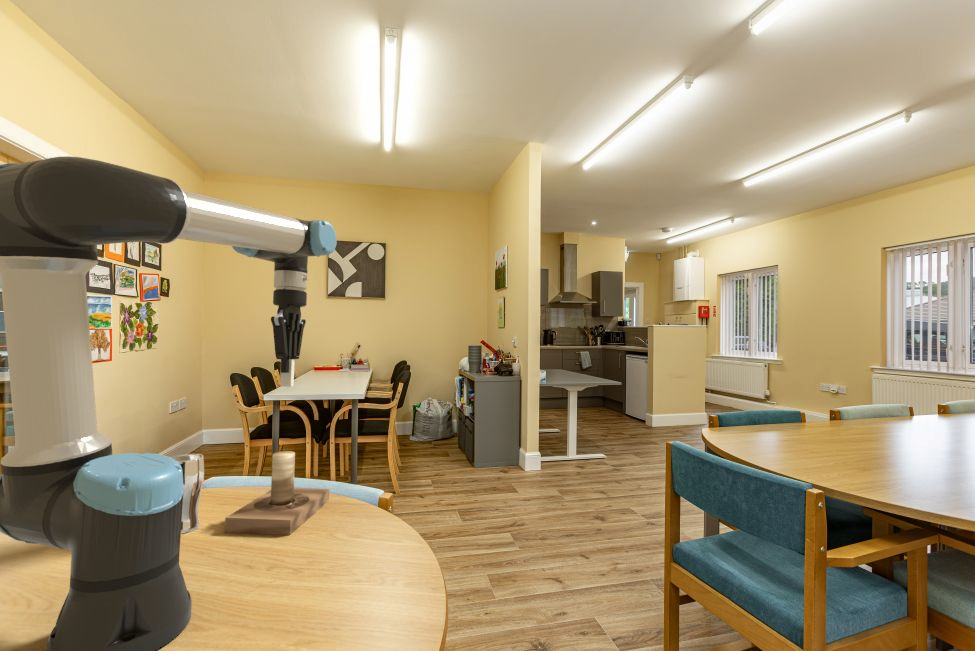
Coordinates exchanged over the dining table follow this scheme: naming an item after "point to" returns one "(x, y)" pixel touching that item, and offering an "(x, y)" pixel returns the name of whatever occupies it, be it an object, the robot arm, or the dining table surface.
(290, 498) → the peg
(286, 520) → the board
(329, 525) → the dining table surface
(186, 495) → the metal cup
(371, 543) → the dining table surface
